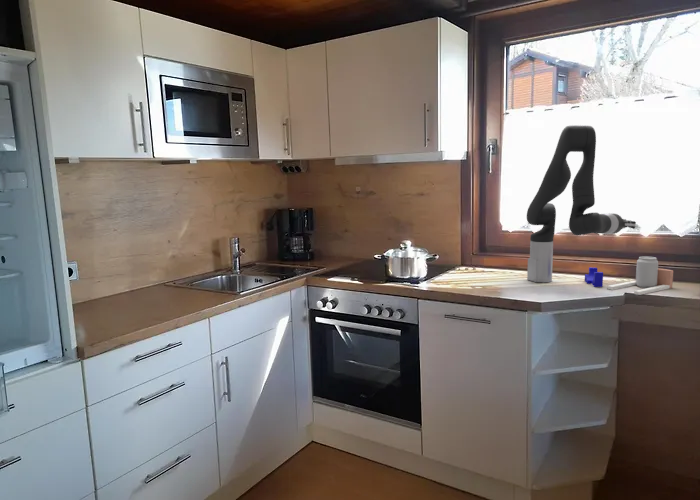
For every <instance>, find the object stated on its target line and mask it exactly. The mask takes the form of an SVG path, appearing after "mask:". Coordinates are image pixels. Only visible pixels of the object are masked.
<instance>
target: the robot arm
mask: <svg viewBox="0 0 700 500" xmlns="http://www.w3.org/2000/svg"><path fill="white" fill-rule="evenodd" d="M596 146H597V134H596V130H595V128H594V127H593V126H591V125H579V124H578V125H573V124H572V125H567V126H565V127H564V128H563V129H562V131H561V134H560V136H559V139H558V141H557V144H556V147H555V151H554V154H553V156H552V159H551V161H550V164H549V166H548V168H547V170H546V172H545V174H544V176H543V179H542V181H541V184H540V185H539V188H538V190H537V192H536V194H535V196H534V197H533V200H532V201H531V202H530V203H529V206H528V208H527V211H526V220H527V221H526V222H527V223H528V224H529V225H532V226H542V228H541V229H539V230H538V231H536V232H533V233H531V234H530V239H529V243H530V245H529V246H530V247H529V257H528V258H527V270H526V271H527V272H526V273H527V276H526V279H527V281H530V282H533V283H551V282H553V264H554V263H553V261H554V259H553V257H554V255H553V254H554V238H555V231H556V229H555V228H556V220H557V219H556V218H557V212H556V206H555V205H554V204H553V203H551V202H552V201H553V200H554V199H556V198H557V197H558V196H560V195H561V194H562V193H563V192H564V191H565V190H566V188H567V186H568V184H569V183H570V180H571V176H572V173H571V168H570V166H569V164H568V161H567V157H568V154H569V153H571V152H574V153H575V152H576V153H581V152H582V157H583V158H582V163H581V165H580V167H579V170H578V171H577V173H576V175H575V176H574V179H573V180H572V185H571V191H572V192H571V195H572V206H571V211H570V215H569V220H568V228H569V231H570V233H572V235H574V236H583V235H589V234H602V235H609V234H611V235H613V234H617V233H619V232H620V231H621V230H623V229H626V228H629V229H636V224H637V221H634V220H627V219H626V218H623V217H622V216H621V215H619V214H618V213H610V212H609V213H608V212H607V213H599V212H589V213H585V211H586V210H588V209H590V208H592V207H593V206H594V205H595V203H596V201H595V199H596V198H595V187H594V171H595V160H596Z"/></svg>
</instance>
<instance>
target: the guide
mask: <svg viewBox="0 0 700 500" xmlns="http://www.w3.org/2000/svg"><path fill="white" fill-rule="evenodd" d="M673 283H674V270H672V269H666V268H661V267H660V268H659V267H658V276H657V286H655V287H651V288H642V289H637V290H634V291H633V292H634V293H633V295H637V296H640V295H646V294H650V293H655V292H658V291H663V290H669V289H673ZM632 286H637V285H636V280H631V281H625V282H620V283H616V284H615V283H614V284H610V285H607V287H606V288H607V290H611V291H613V290H618V289H622V288H628V287H632Z"/></svg>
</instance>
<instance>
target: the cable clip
mask: <svg viewBox="0 0 700 500" xmlns="http://www.w3.org/2000/svg"><path fill="white" fill-rule="evenodd" d="M584 282H585V283H586V284H588V285H592V286H593V287H594V288H603V284H604V272H603V271H598V268H597V267H588V274H586V273H585V274H584Z"/></svg>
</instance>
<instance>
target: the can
mask: <svg viewBox="0 0 700 500" xmlns="http://www.w3.org/2000/svg"><path fill="white" fill-rule="evenodd" d="M658 268H659V261H658V258H657V257H654V256H646V255H645V256H643V255H642V256H639V257H638V259H637V260H636V270H635V271H636V272H635V281H636V285H635V286H637V287H638V288H642V289H646V288H651V287H655V286H657V276H658Z"/></svg>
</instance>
